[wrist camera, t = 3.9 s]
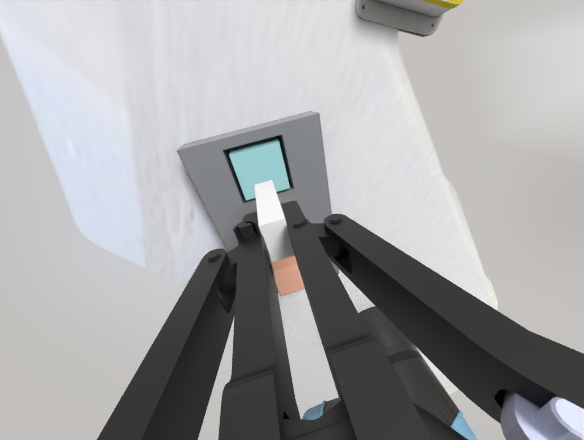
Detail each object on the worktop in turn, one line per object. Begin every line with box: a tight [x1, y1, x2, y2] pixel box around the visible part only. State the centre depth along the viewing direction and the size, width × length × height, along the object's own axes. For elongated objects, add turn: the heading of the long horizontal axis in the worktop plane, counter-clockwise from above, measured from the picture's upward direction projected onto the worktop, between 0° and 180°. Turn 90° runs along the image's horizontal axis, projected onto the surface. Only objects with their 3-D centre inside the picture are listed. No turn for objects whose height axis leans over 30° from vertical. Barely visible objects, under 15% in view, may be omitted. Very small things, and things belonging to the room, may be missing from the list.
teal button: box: [229, 137, 290, 200], centre depth 23 cm, size 5×5×3 cm
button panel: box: [177, 111, 339, 293], centre depth 27 cm, size 23×14×3 cm, turn 12°
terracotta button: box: [271, 256, 305, 296], centre depth 29 cm, size 5×5×3 cm
